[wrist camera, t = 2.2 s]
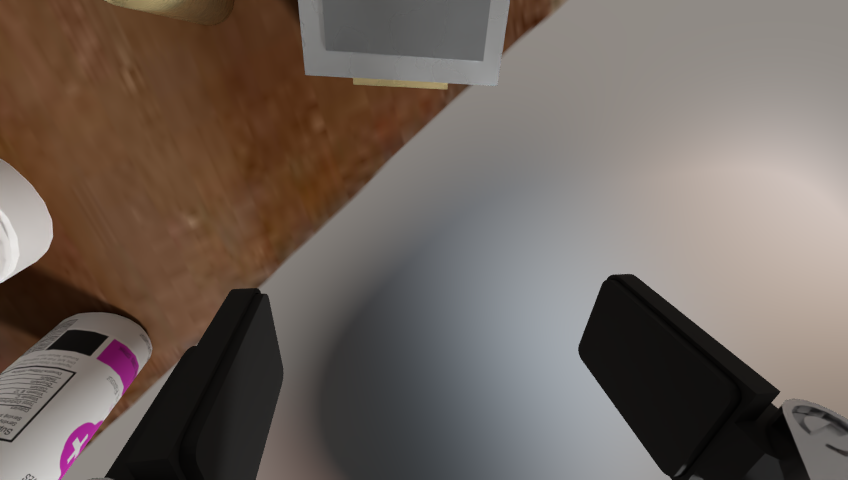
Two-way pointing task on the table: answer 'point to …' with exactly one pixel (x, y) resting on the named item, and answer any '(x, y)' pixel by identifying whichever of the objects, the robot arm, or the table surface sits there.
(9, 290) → the table surface
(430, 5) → the grey box
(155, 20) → the table surface
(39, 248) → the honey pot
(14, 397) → the supplement can
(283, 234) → the table surface
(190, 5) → the cylinder
